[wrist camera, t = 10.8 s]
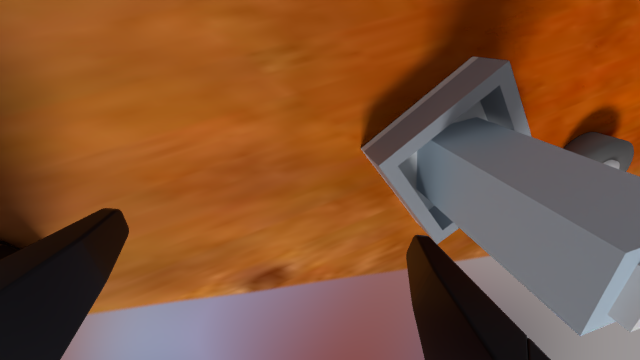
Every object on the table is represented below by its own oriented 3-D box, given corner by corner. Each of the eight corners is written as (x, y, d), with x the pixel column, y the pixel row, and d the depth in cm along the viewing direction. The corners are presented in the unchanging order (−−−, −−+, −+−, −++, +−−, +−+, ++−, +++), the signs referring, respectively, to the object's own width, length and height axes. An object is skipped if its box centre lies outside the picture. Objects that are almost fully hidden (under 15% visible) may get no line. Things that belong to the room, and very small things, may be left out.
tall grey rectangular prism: (416, 189, 23) (600, 354, 11) (417, 132, 21) (655, 270, 9) (469, 173, 24) (695, 314, 12) (476, 117, 21) (771, 225, 10)
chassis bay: (416, 222, 26) (436, 244, 23) (360, 148, 21) (378, 166, 18) (508, 152, 25) (540, 167, 22) (472, 56, 20) (509, 60, 17)
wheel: (555, 198, 29) (582, 212, 27) (545, 160, 26) (574, 173, 24) (606, 161, 29) (638, 173, 26) (601, 118, 26) (637, 127, 23)
